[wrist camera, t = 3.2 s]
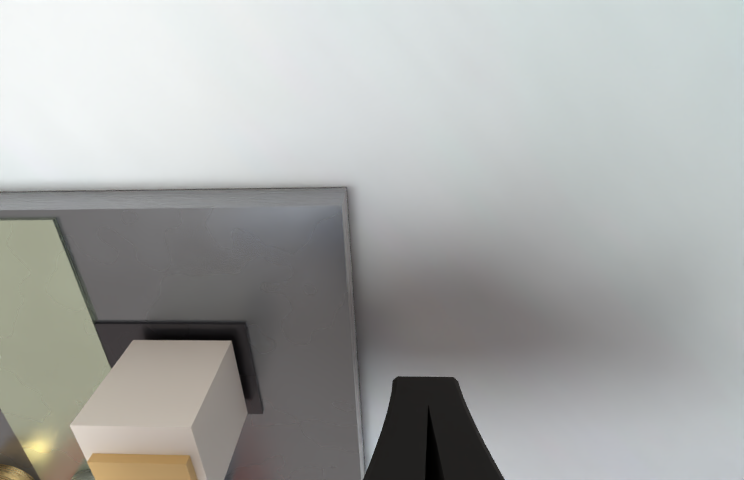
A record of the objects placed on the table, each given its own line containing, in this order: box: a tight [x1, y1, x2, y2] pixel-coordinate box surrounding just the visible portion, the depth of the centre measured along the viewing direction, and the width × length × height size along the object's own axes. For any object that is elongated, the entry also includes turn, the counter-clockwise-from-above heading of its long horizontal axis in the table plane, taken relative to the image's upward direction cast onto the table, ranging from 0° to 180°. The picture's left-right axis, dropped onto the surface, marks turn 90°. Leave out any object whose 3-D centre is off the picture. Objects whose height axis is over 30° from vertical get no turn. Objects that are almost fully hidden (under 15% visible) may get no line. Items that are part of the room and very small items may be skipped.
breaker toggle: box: [70, 340, 248, 480], centre depth 11 cm, size 2×2×3 cm
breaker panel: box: [0, 188, 365, 480], centre depth 13 cm, size 14×11×2 cm
